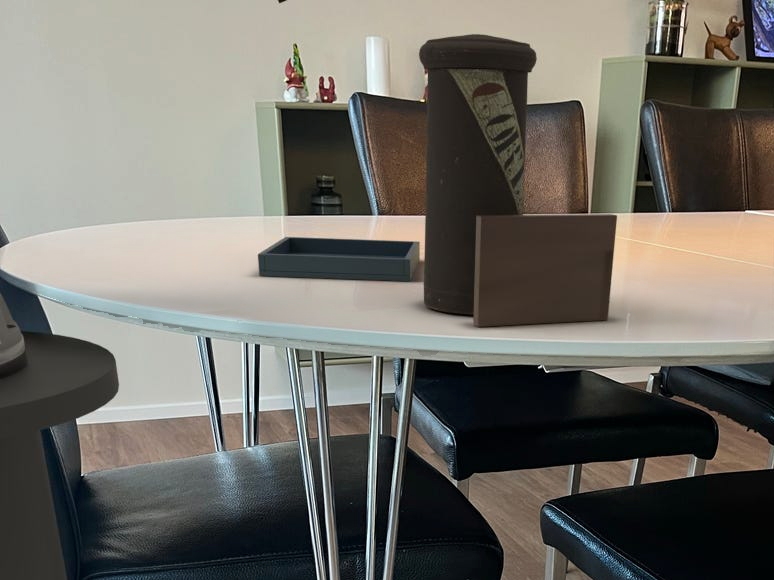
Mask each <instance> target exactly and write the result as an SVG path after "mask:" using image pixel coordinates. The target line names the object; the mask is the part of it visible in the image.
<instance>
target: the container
mask: <svg viewBox="0 0 774 580" xmlns="http://www.w3.org/2000/svg"><path fill="white" fill-rule="evenodd" d="M418 57H419V61H420V63H421V64H422V67H423V69H424V70H427V84H426V85H427V87H426V89H427V92H426V94H427V95H426V96H427V97H426V101H427V102H426V107H427V108H426V111H427V112H426V114H427V115H426V153H425V154H426V157H425V160H426V161H425V162H426V163H425V164H426V165H425V215H424V217H425V218H424V219H425V220H424V257H423V258H424V262H423V264H424V265H423V303H424V304H423V305H424V306H425V307H426V308H429V309H430V310H435V311H437V312H443V313H450V314H459V315H471V316H472V315H473V316H474V284H475V249H476V216H477V215H524V204H525V181H526V179H525V178H526V170H525V169H526V138H527V137H526V135H527V111H528V88H529V87H528V83H529V82H528V81H529V79H528V78H529V73H532V72H533V69H534V68H535V66H536V64H537V60H538V59H537V53H536V51H535V49H533V48H532V47H531V44H530V43H527V42H521V41H517V40H514V39H510V38H504V37H498V36H493V35H488V34H480V33H476V34H475V33H471V34H464V35H454V36H446V37H440V38H432V39H428V40H426V42H425V43H423V44H422V45H421V47H420V48H419V52H418Z"/></svg>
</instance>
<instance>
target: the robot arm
mask: <svg viewBox="0 0 774 580" xmlns="http://www.w3.org/2000/svg"><path fill="white" fill-rule="evenodd" d="M286 1H288V0H277V2H278V4H282V3H285V2H286ZM20 331H21V329H20V327H19V325H18V323H17V322H16V321H15V320H14V319H13V316H12V314H11V312H10V310H9V307H8V305H7V303H6V301H5V299H4V297H3V295H2V293H1V292H0V379H1V378H4V377H7V376H10V375H12V374H14V373H16V372H18V371H20V370H21V369H22V368H24V367H25V366H26V364H27V355H26V350H25V344H24V339H23V335H22V334H21V332H20Z"/></svg>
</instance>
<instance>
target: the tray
mask: <svg viewBox="0 0 774 580" xmlns="http://www.w3.org/2000/svg"><path fill="white" fill-rule="evenodd" d="M420 244H421V241H417V240H416V241H414V240H413V241H412V240H388V239H387V240H386V239H359V238H358V239H357V238H356V239H355V238H334V237H333V238H331V237H329V238H328V237H304V236H303V237H299V236H285V237H283V238H281V239H280V240H278V241H277V242H275V243H274V244H271V245H270V246H269V247H267V248H266V249H264V250H261V252H258V253H257V262H258V263H257V264H258V275H259V277H276V278H277V277H278V278H279V277H280V278H309V279H333V280H334V279H335V280H336V279H337V280H364V281H390V282H391V281H392V282H393V281H394V282H411V280H412V278H413V276H414V273H415V272H416V270H417V267H418V265H419V263H420V259H421V257H420V255H421V253H420V251H421V250H420V249H421V245H420Z"/></svg>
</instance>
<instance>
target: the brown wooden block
mask: <svg viewBox="0 0 774 580" xmlns="http://www.w3.org/2000/svg"><path fill="white" fill-rule="evenodd" d="M617 221H618V215H617V214H613V213H589V214H588V213H580V214H579V213H578V214H577V213H576V214H573V213H572V214H569V213H567V214H565V213H564V214H523V215H477V216H476V249H475V284H474V315H473V320H472V321H473V322H472V323H473V324H472V325H473V326H476V327H478V328H485V327H487V328H488V327H503V326H504V327H505V326H506V327H507V326H524V325H525V326H526V325H540V324H541V325H543V324H560V323H561V324H562V323H578V322H595V321H608V320H609V309H610V299H611V289H612V278H613V269H614V268H613V265H614V254H615V244H616V233H617V223H618V222H617Z"/></svg>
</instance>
